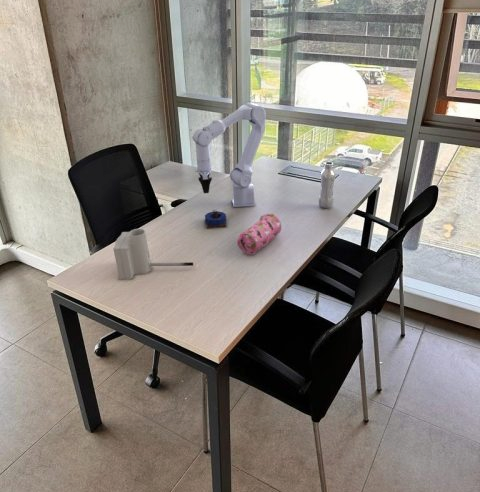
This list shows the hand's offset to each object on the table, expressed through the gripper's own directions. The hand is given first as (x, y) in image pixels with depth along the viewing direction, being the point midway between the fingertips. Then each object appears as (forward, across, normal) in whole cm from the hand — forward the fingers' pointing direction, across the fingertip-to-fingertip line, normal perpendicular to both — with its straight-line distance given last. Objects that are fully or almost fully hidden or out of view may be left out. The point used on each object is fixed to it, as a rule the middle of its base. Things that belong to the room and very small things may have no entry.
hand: (205, 189), depth 198 cm
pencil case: (+11, +34, +19) cm, 40 cm away
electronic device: (+11, +47, -20) cm, 52 cm away
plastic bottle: (+11, +4, +53) cm, 54 cm away
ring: (+9, +12, +3) cm, 16 cm away
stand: (+10, +13, +3) cm, 17 cm away
